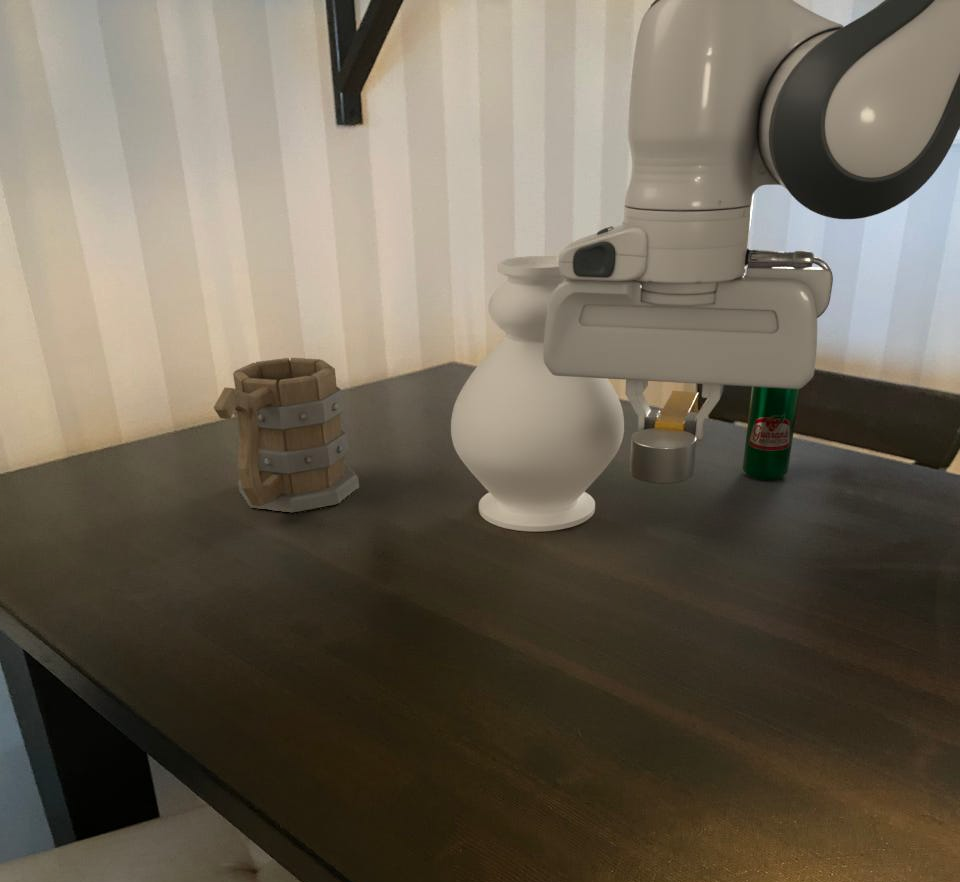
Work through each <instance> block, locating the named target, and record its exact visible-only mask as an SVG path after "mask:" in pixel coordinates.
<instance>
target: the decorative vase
mask: <svg viewBox="0 0 960 882" xmlns="http://www.w3.org/2000/svg"><path fill="white" fill-rule="evenodd" d="M497 271H498V273H499V274H501V275H504V276H505V277H507V280H506V281H505V282H504V283H503V284H502V285H501V286H499V287H498V288H497V289H496V290H495V291H494V292H493V294H492V295H491V297H490V299H489V301H488V302H489V303H488V313H489V316H490V318H491V320H492V321H493V322H494V324H496V326H497V327H498V328H500V330H502V331H503V332H504V333H505V336H504V337H503V338H501V340H500V341H499V342H498V343H497V344H496V345H495V346H494V347H493V348H492V349H491V350H490V351H489V352H488V353H487V355H486V356H484V358H483V359H482V360H481V361H480V362H479V364H478V365H477V366H476V367H475V369H473V371H472V372H471V374H470V375H469V377H468V378H467V380H466V382H465V383H464V384H463V387H462V388H461V389H460V392H459V393H458V395H457V398H456V400H455V402H454V405H453V408H452V412H451V419H450V436H451V441H452V445H453V448H454V450H455V452H456V455H458V457H459V459H460V461H462V463H463V464H464V466H465V467H466V468H467V469H468V471H470V473H471V474H472V475H473V476H474V477H475V479H476V480H477V481H478V482H479V483H480V484H481V485H482V486H483V487H484V488H485V490H486V491H487V493H486V494H484V495H483V496H482V497H481V498H480V499H479V501H478V513H479V515H480V516H481V518H482V519H484V520H485V521H486V522H488V523H489V524H491V525H494V526H497V527H500V528H503V529H506V530H511V531H512V530H513V531H518V532H519V531H520V532H531V533H532V532H536V533H537V532H553V531H561V530H565V529H569V528H572V527H576V526H578V525H581V524H583V523H585V522H587V521H588V520H589V519H591V518H592V517H593V516H594V514H595V513H596V512H595V511H596V501H595V499H594V498H593V496H592V495H590V494H589V493H588V492H586V491H587V490H588V489H589V488H590V487H591V486H592V484H593V483H594V482H595V481H596V480H597V479H598V478H599V476H601V474H602V473H603V472H604V471H605V470H606V468H607V467H608V466H609V465H610V463H611V462H612V461H613V460H614V458H615V456H616V455H617V453H618V452H619V449H620V447H621V445H622V442H623V438H624V432H625V418H624V411H623V407H622V404H621V401H620V397H619V396H618V394H617V392H616V390H615V388H614V386H613V385H612V383H611V382H610V379H606V378H589V377H571V376H555V375H553V374H552V373H551V372H550V371H549V369H548V368H547V366H546V365H545V363H544V359H543V351H544V334H545V324H546V317H547V311H548V305H549V301H550V298H551V295H552V293H553V291H554V290H555V288H556V287H557V286H558V285H559V284H560V283H562V282H563V281H564V280H565V278H563V277H562V276H561V274H560V272H559V255H557V256H556V255H529V256H528V255H527V256H517V257H516V256H515V257H509V258H504V259H501V260H499V261H497Z"/></svg>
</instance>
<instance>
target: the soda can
mask: <svg viewBox="0 0 960 882" xmlns="http://www.w3.org/2000/svg"><path fill="white" fill-rule="evenodd" d="M800 390H801V388H800V389H784V388H767V387H751V395H750V402H749V410H748V419H747V428H746V437H745V443H744V452H743V462H742V470H743V472H744V474H745V475H746V476H747V477H749V478H751V479H753V480H758V481H763V482H765V481H766V482H767V481H768V482H769V481H772V482H773V481H777V480H781V479H782V478H783V477H785V476H786V475H787V474H788V472H789V468H790V467H789V466H790V459H791V453H792V445H793V439H794V433H795V426H796V418H797V413H798V412H797V411H798V404H799V399H800V392H801V391H800Z"/></svg>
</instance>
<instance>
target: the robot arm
mask: <svg viewBox="0 0 960 882" xmlns="http://www.w3.org/2000/svg"><path fill="white" fill-rule="evenodd" d="M634 48H635V49H634V54H633V62H632V69H631V70H632V71H631V77H630V90H629V91H630V92H629V105H628V121H627V140H628V145H629V150H630V156H631V174H630V179H629V183H628V188H627V190H626V194H625V197H624V198H625V199H624V207H623V208H624V209H623V210H624V211H623V221H622V224H620V225H617V226H615V227H614V226H612V225H611V226H608V227H604V228H603V229H600V230H599V231H597V232H596V233H592V234H590V235H587V236H584V237H581V238H578V239H576V240H575V241H572V242H571V243H569V244H568V245H566V246H565V247H564V248H563V249H562V250H560V253H559V255H558V256H559V272H560V274H561V276H562V277H563V278H565V280H564V281H563V282H562V283H560V284H559V285H558V286H557V287H556V288H555V290H554V291H553V293H552V295H551V298H550V301H549V305H548V311H547V317H546V324H545V334H544V351H543V359H544V363H545V365H546V366H547V368H548V369H549V371H550V372H551V373H552V374H553V375H555V376H571V377H589V378H606V379H608V380H625V393H624V394H625V395H626V398H627V400H628V401H629V403H630V405H631V407H632V409H633V411H634V413H635V414H636V416H637V417H638V418H637V419H638V420H637V432H638V431H641V430H645V429H651V428H655V421H656V420H657V418H658V416H659V415H660V413H661V410H659V409H651V407H650V405H649V403H648V401H647V399H646V397H645V394H644V392H645V391H646V389H647V388H648V386H649V382H660V383H662V382H663V383H680V384H695V385H698V384H699V385H701V397H702V399H706V400H705V402H704V403H703V404H702V405H701V407H700V409H699V410H697V413H693V412H688V413H687V414H686V417H685V419H684V421H685V425H684V428H685V431H686V432H689V433H691V434H693V435H694V436H695V437H696V441H697V442H698V441H700V442H701V441H703V439H704V436H705V430H706V421H707V420H706V419H707V418H708V417H709V415H710V414H711V413H712V411H713V409H714V408H715V407H716V406H717V404H718V403H719V401H720V400H721V397H722V395H723V392H724V386H733V387H750V388H752V387H767V388H784V389H800V390H801V389H802V388H804V387H805V386H806V385H807V384H808V383H809V382H810V381H811V380H812V379H813V378H814V376H815V369H816V360H817V348H818V318H820V317H821V316H822V315H823V314H824V313H825V312H826V310H827V309H828V307H829V305H830V302H831V296H832V291H833V290H832V289H833V282H834V276H833V271H832V269H831V267H830V265H829V264H828V263H827V262H826V261H824V260H823V259H822V258H819V257H815V253H814V252H813V251H807V250H795V251H778V250H769V249H765V250H764V249H749V248H748V247H749V241H750V240H749V239H750V233H751V232H750V231H751V222H752V221H751V220H752V214H753V213H752V212H753V203H754V196H755V193H756V191H757V189H759V188H760V187H762V186H782V187H783V188H784V189H786V190H787V192H789V194H790V195H791V197H793V199H795V200H796V201H797V203H799V204H800V205H801V206H803V207H804V208H806V209H807V210H809V211H811V212H813V213H815V214H817V215H820V216H823V217H826V218H830V219H835V220H836V219H837V220H859V219H865V218H869V217H872V216H876V215H879V214H883V213H884V212H886V211H889V210H891V209H893V208H895V207H897V206H898V205H901V203H903V202H905V201H906V200H908V199H909V198H910V197H913V195H915V194H916V193H917V192H918V191H919V190H920V189H921V188H922V187H923V186H924V185H926V183H927V182H928V181H929V180H930V179H931V178H932V177H933V175H934V174H935V173H936V172H937V170H938V169H939V167H940V166H941V165H942V163H943V161H944V160H945V158H946V157H947V155H948V153H949V151H950V149H951V147H952V146H953V144H954V141H955V139H956V137H957V135H958V133H959V130H960V0H882V2H880V3H879V4H878V5H876V7H874V8H873V9H870V10H869V11H868V12H866V13H865V14H863V15H862V16H860V17H858V18H857V19H855V20H853V21H851V22H850V23H848V24H845V25H843V24H841V23H839V22H835V21H834V20H833V21H832V20H830V19H828V18H826V17H823V16H822V15H820V14H817V13H815V12H814V11H812V10H810V9H808V8H806V7H804V6H802V5H801V4H799V3H797V2H796V1H795V0H654V1H653V2H652V3H651V4H650V7H648V9H647V10H646V11H645V13H644V15H643V16H642V19H641V22H640V23H639V28H638V33H637V37H636V42H635V47H634ZM813 265H816V266H819V267H813Z"/></svg>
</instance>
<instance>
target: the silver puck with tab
mask: <svg viewBox="0 0 960 882" xmlns="http://www.w3.org/2000/svg"><path fill="white" fill-rule="evenodd" d="M698 403H699V392H698V391H696V392H695V391H682V390H681V391H680V390H672V392H671V393H670V395H669V397H668V399H667V400H666V402H665V403H664V405H663V407H662V409H661V410H660V415H659V416H658V418H657V420H656V421H655V428H651V429H645V430H641V431H638V430H637V431H636V432H634V433H633V434H632V435H631V437H630V438H631V440H630V453H629V455H630V457H629V474H630V476H631V477H633V478H634V479H636V480H639V481H641V482H646V483H649V484H659V485H661V484H662V485H666V484H667V485H670V484H679V483H682V482H686V481H688V480H690V479H691V478H692V477H693V475H694V467H695V457H696V447H697V445H696V444H697V440H696V437H695V436H694V435H693V434H691V433H689V432H686V431H685V428H684V425H685V421H684V419H685V417H686V414H687V413H688V412H693V413H698Z"/></svg>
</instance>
